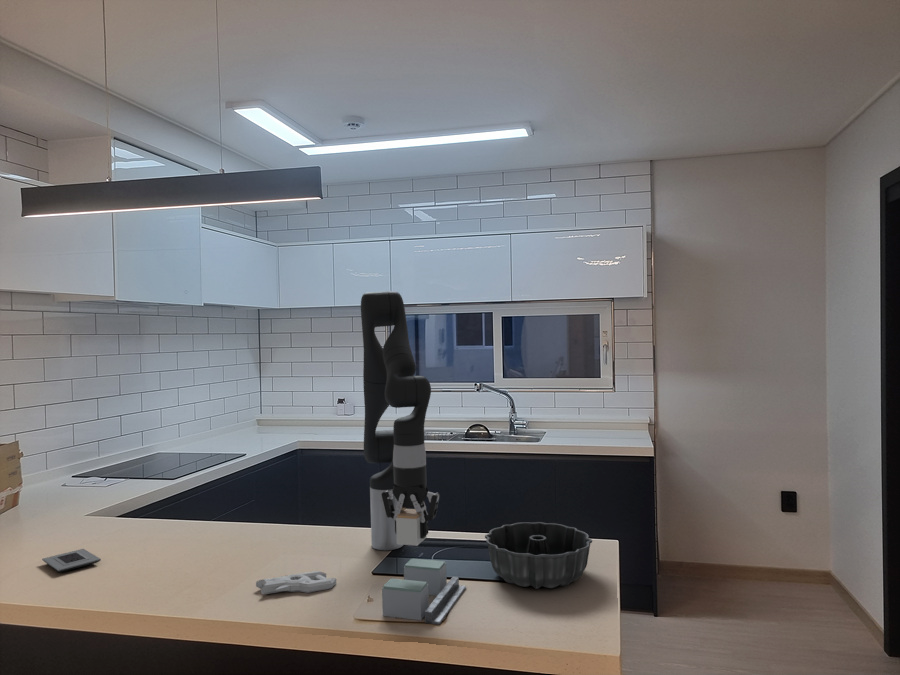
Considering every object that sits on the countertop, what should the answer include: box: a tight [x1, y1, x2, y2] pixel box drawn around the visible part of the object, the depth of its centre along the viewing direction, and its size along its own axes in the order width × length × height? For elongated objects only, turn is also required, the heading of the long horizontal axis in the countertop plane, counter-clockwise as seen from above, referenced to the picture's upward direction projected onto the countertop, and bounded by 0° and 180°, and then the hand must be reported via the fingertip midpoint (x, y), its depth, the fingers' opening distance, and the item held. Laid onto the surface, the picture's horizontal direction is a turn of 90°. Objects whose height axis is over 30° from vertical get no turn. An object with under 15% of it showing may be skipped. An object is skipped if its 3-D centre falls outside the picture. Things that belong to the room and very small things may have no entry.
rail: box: [424, 576, 467, 625], centre depth 153 cm, size 20×3×2 cm, turn 162°
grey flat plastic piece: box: [255, 570, 337, 595], centre depth 165 cm, size 18×4×10 cm
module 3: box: [381, 578, 430, 621], centre depth 149 cm, size 5×9×6 cm, turn 72°
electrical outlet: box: [41, 548, 102, 573], centre depth 185 cm, size 13×10×2 cm
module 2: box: [403, 558, 448, 597], centre depth 161 cm, size 5×9×6 cm, turn 72°
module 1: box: [396, 508, 427, 547], centre depth 155 cm, size 6×5×6 cm
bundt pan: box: [484, 521, 593, 590], centre depth 168 cm, size 26×26×10 cm
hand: (411, 536), depth 155 cm, fingers closed on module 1, 5 cm apart
